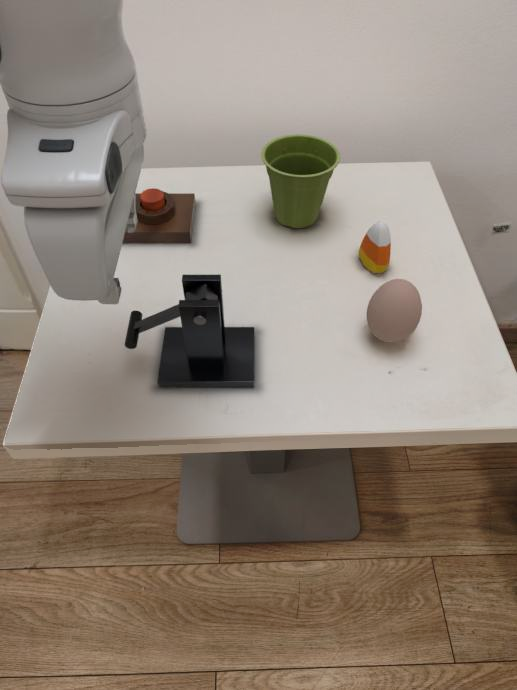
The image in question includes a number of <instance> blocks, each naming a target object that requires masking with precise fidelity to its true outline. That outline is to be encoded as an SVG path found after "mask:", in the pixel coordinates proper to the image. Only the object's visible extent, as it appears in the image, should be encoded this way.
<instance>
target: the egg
mask: <svg viewBox="0 0 517 690" xmlns="http://www.w3.org/2000/svg"><path fill="white" fill-rule="evenodd" d="M422 314H423V303H422V298H421V294H420V292H419V290H418V288H417V286H415V285H414V283H412V282H411V281H408V280H407V279H404V278H393V279H390V280H388V281H386V282H384V283H382V285H380V286H378V288H377V289H376V290H375V292H374V293H372V295H371V297H370V299H369V301H368V305H367V308H366V323H367V326H368V329H369V330H370V332H371V333H372V334H373V336H374V337H375V338H377V340H379V341H382V342H386V343H398V342H402V341H404V340H406V339H408V338H409V337H410V336H411V335H412V334H413V333H414V332H415V331H416V329H417V327H418V325H419V324H420V321H421V319H422Z"/></svg>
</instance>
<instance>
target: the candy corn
mask: <svg viewBox="0 0 517 690" xmlns="http://www.w3.org/2000/svg"><path fill="white" fill-rule="evenodd" d="M391 246H392V239H391V231H390V228H389V226H388V224H387V223H385V222H384V221H383V220H379V221H377V222H375V223H373V224H372V225H371V226H370V227H369V228H368V230H367V232H366V233H365V235H364V237H362V240H361V243H360V246H359V248H358V257H359V259H360V261H361V263H362V265H363V267H365V268H366V269H367V270H369V272H372V273H373V274H383V273H384V272H385V271H386V270H387V269H388V268H389V267H390V261H391V250H392V249H391Z"/></svg>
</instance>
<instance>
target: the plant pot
mask: <svg viewBox="0 0 517 690" xmlns="http://www.w3.org/2000/svg"><path fill="white" fill-rule="evenodd" d="M261 160H262V162H263V164H264V165H265V170H266V173H267V176H268V178H269V179H268V180H269V187H270V194H271V199H272V205H273V212H274V218H275V219H276V221H277V222H278V223H279V224H281V225H282V226H287V227H291V228H293V229H304V228H308V227H310V226H312V225H314V224H315V223H316V221H317V219H318V218H319V215H320V213H321V208H322V206H323V203H324V199H325V195H326V193H327V189H328V185H329V183H330V179H331V178H332V176H333V174H334V171H335V169H336V168H337V167H338V166H339V163H340V162H341V153H340V151H339V149H338V147H336V145H335V144H333V143H331V142H330V141H328V140H326V139H324V138H322V137H320V136H319V137H318V136H315V135H310V134H302V133H301V134H299V133H298V134H297V133H296V134H287V135H282V136H277V137H276V138H274V139H272V140H270V141H268V142H267V143H266V144H265V145H264V147H262V150H261Z"/></svg>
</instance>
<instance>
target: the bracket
mask: <svg viewBox="0 0 517 690" xmlns="http://www.w3.org/2000/svg"><path fill="white" fill-rule="evenodd" d="M181 284H182V285H181V286H182V292H183V298H184V299H179V300H178V304H179V312H180V317H179V318H180V324H181V326H165V327H164V333H163V341H162V346H161V354H160V360H159V369H158V376H157V386H158V388H255V327H254V326H225V313H224V298H223V286H222V274H182V276H181ZM204 284H207V285H208V286H209V287H210V288H211V289H212V291H213V292H214V293H215V294H216V295H217V296H218V300H186V292H188V291H191V290H193V289H195V288H197V287H200V286H202V285H204Z"/></svg>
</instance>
